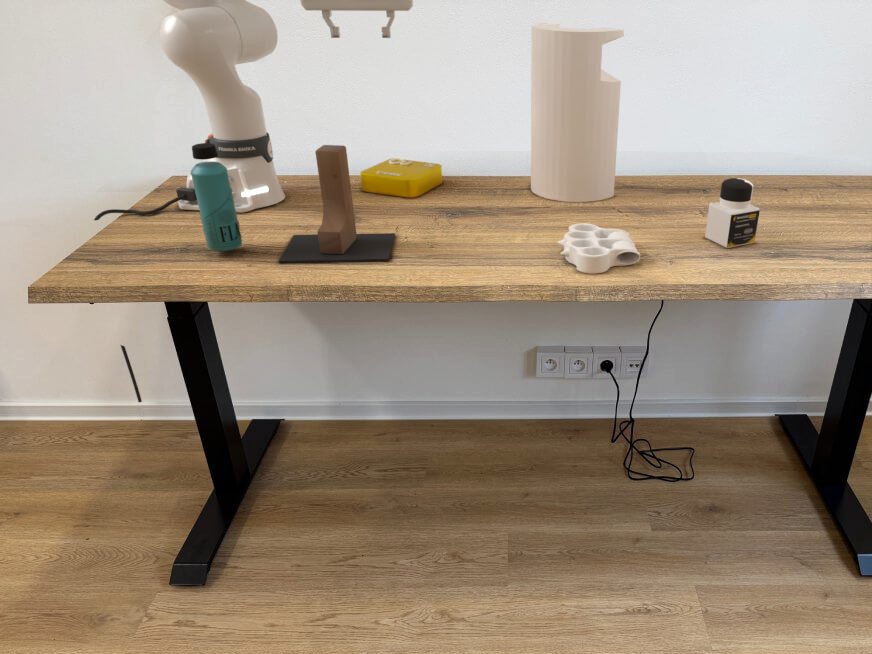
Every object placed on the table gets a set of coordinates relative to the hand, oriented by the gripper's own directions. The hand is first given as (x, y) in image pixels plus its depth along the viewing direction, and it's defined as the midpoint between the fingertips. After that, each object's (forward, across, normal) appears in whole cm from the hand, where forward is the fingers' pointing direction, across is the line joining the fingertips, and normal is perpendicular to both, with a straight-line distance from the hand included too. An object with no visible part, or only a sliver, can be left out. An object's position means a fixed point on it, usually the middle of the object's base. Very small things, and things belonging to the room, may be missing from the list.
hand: (361, 37), depth 145 cm
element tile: (+35, -3, -24) cm, 43 cm away
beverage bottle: (+35, +27, +18) cm, 48 cm away
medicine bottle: (+35, -71, +16) cm, 81 cm away
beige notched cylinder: (+35, -41, -17) cm, 57 cm away
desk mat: (+35, +6, +17) cm, 39 cm away
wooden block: (+35, +6, +17) cm, 39 cm away
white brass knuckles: (+35, -43, +23) cm, 60 cm away
